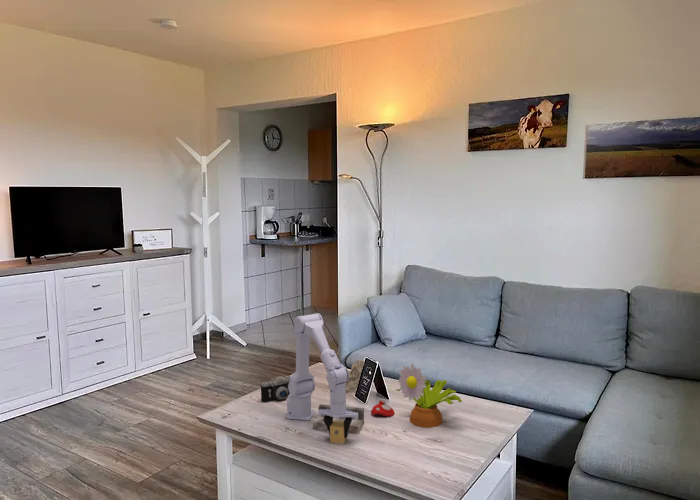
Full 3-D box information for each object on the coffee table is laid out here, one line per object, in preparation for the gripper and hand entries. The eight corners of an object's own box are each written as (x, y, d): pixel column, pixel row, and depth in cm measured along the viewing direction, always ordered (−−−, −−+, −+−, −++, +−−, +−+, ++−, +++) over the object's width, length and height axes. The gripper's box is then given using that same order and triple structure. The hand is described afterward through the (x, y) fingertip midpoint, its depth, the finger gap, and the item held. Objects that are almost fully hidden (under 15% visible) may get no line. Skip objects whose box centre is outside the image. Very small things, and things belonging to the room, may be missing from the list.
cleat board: (312, 429, 198) (312, 414, 198) (320, 418, 208) (320, 404, 207) (358, 434, 194) (358, 418, 193) (364, 422, 204) (363, 408, 203)
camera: (266, 405, 222) (265, 383, 221) (259, 400, 227) (259, 378, 226) (297, 398, 230) (296, 376, 229) (290, 393, 235) (289, 372, 234)
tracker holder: (400, 412, 211) (380, 412, 205) (396, 422, 211) (376, 422, 206) (384, 396, 221) (365, 395, 215) (381, 405, 221) (362, 405, 216)
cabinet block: (329, 443, 187) (329, 427, 186) (334, 436, 193) (333, 420, 192) (343, 444, 186) (342, 428, 185) (347, 437, 191) (346, 421, 191)
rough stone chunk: (372, 382, 247) (370, 352, 246) (359, 396, 232) (356, 363, 231) (343, 380, 254) (340, 350, 252) (328, 393, 239) (325, 362, 237)
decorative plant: (384, 420, 206) (383, 359, 203) (419, 402, 223) (419, 345, 220) (442, 441, 187) (442, 374, 185) (475, 419, 205) (476, 358, 202)
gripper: (315, 403, 186) (316, 439, 187) (354, 406, 182) (355, 443, 184) (321, 395, 193) (322, 430, 194) (359, 398, 189) (359, 434, 191)
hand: (338, 436), depth 189 cm, fingers closed on cabinet block, 5 cm apart
